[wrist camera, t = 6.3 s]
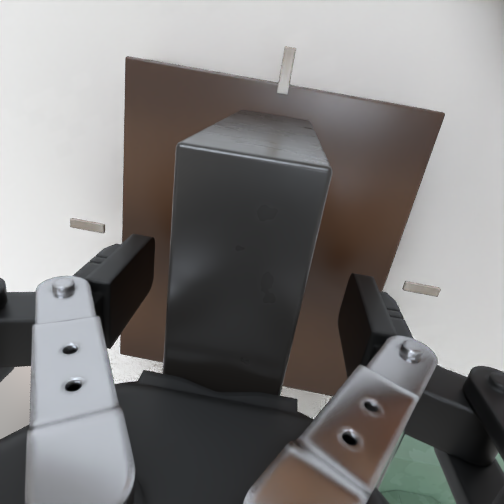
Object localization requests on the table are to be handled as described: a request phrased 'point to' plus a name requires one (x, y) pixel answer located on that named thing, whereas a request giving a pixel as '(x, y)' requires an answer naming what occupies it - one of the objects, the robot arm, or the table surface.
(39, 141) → the table surface
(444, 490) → the switch block
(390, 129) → the frame stand
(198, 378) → the black block
